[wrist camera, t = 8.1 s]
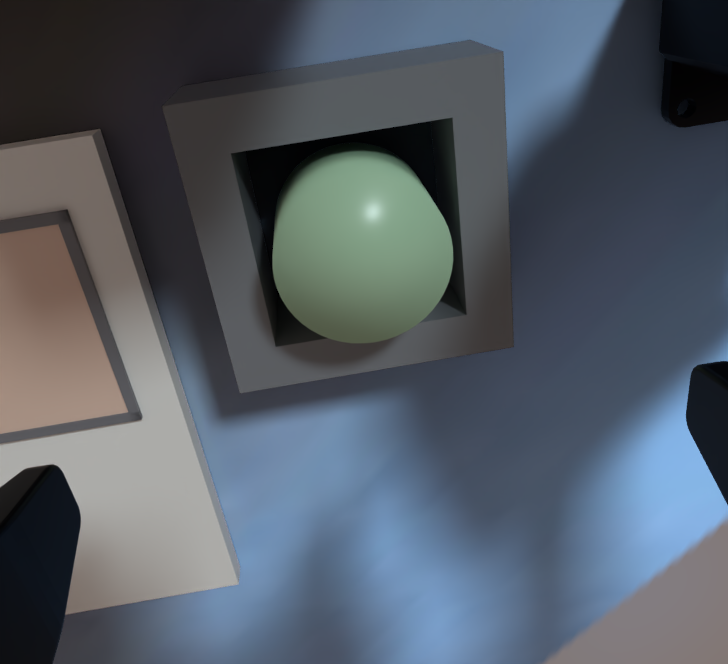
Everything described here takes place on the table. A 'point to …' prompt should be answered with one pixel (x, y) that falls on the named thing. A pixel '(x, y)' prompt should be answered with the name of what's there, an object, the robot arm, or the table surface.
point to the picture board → (99, 382)
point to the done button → (359, 244)
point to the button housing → (336, 118)
